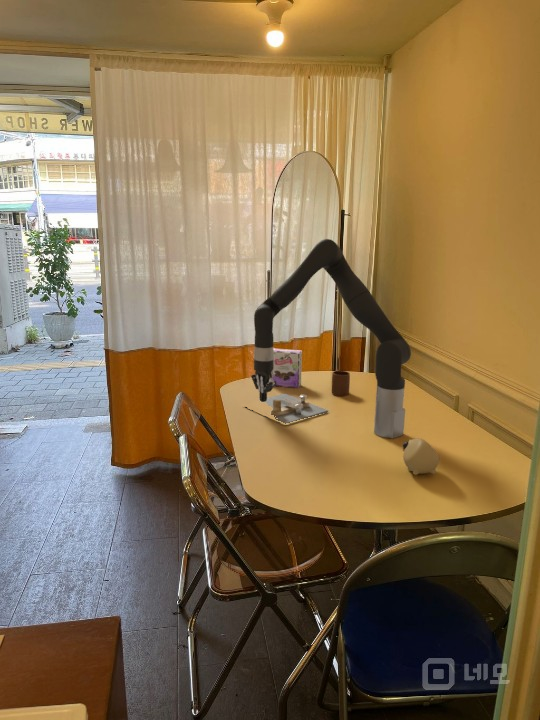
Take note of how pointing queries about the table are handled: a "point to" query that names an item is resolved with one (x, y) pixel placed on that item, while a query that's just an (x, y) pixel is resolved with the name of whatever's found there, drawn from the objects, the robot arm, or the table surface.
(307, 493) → the table surface
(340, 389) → the mug
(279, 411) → the link
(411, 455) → the cream rounded piece
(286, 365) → the candy box
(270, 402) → the base plate
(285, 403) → the keeper
